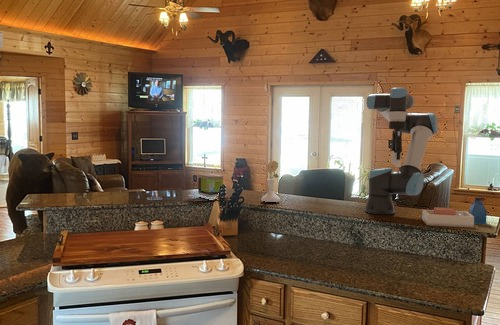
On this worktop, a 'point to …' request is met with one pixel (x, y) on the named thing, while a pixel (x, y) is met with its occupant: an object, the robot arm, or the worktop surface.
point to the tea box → (209, 184)
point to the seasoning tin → (444, 211)
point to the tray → (448, 219)
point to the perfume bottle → (478, 211)
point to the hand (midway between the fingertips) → (395, 165)
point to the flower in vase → (271, 183)
